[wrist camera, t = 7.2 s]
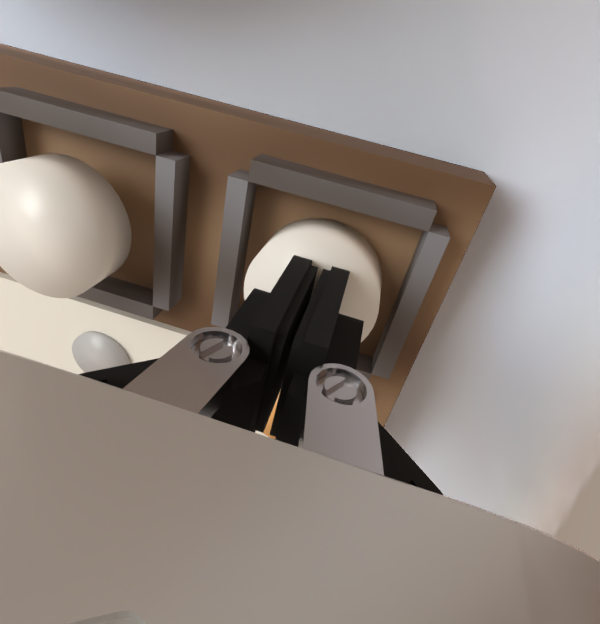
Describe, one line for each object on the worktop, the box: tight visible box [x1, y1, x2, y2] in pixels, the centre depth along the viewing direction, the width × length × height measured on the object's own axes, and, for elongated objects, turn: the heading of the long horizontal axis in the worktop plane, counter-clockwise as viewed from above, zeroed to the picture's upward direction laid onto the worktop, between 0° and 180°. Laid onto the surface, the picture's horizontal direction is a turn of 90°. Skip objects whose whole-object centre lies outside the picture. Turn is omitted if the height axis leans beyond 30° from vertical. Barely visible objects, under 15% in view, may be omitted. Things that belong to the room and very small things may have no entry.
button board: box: [0, 44, 496, 427], centre depth 16 cm, size 13×24×3 cm, turn 78°
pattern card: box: [0, 272, 281, 439], centre depth 17 cm, size 5×22×1 cm, turn 78°
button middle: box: [0, 153, 132, 298], centre depth 12 cm, size 4×4×2 cm
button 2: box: [244, 217, 382, 342], centre depth 12 cm, size 4×4×2 cm
